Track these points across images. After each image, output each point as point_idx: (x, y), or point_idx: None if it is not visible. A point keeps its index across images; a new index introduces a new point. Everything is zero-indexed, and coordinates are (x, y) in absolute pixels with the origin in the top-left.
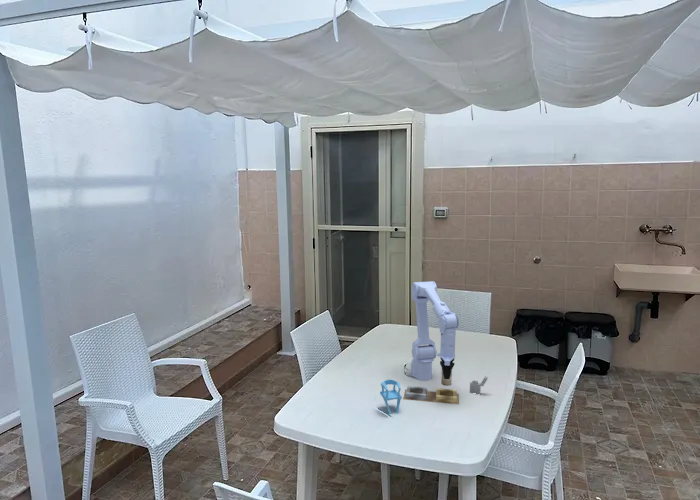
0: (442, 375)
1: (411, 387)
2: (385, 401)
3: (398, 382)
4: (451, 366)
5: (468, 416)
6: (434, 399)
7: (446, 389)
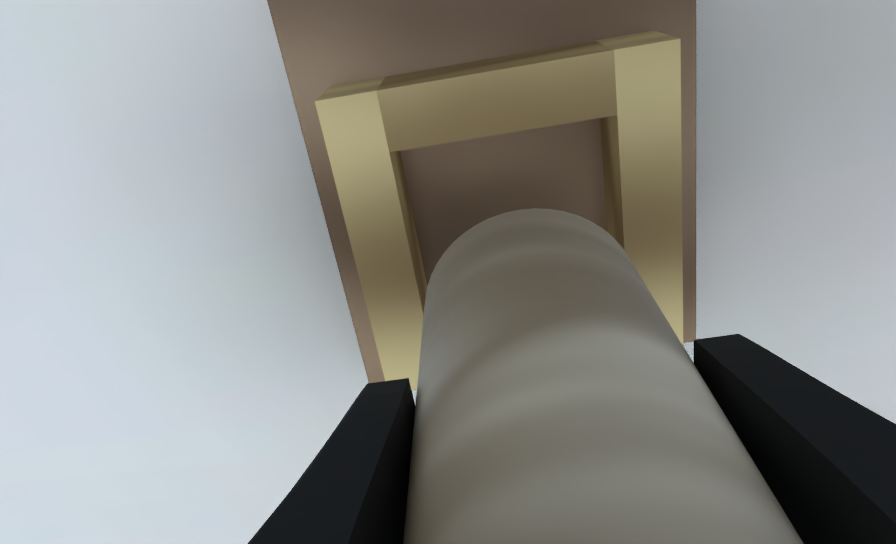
0: (457, 358)
1: None
2: None
3: None
4: None
5: (182, 471)
6: (377, 50)
7: (664, 214)
